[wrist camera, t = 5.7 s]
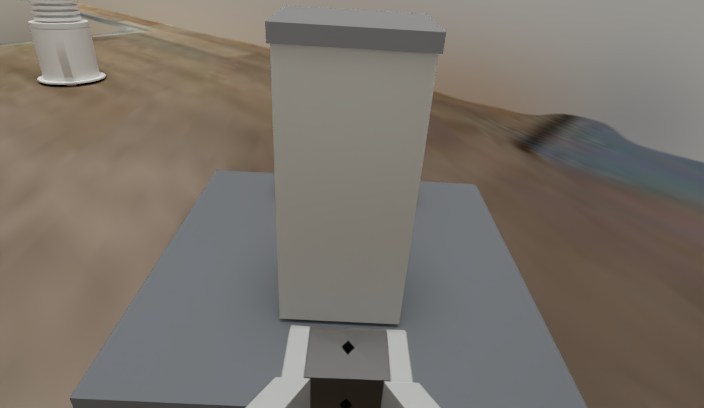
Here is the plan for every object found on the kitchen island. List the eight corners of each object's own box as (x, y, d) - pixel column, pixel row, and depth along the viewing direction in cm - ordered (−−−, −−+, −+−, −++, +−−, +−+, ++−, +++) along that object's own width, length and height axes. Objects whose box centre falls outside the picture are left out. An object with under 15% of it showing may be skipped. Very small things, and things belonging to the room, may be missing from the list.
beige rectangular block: (394, 264, 22) (426, 14, 16) (401, 326, 19) (445, 32, 13) (290, 259, 22) (285, 5, 16) (276, 319, 18) (265, 21, 13)
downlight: (105, 86, 51) (84, -11, 47) (33, 89, 49) (3, -12, 44) (106, 72, 58) (88, -14, 53) (43, 75, 55) (18, -15, 50)
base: (471, 203, 32) (490, 115, 29) (581, 448, 16) (650, 314, 13) (218, 189, 31) (208, 98, 28) (80, 425, 16) (23, 283, 13)
